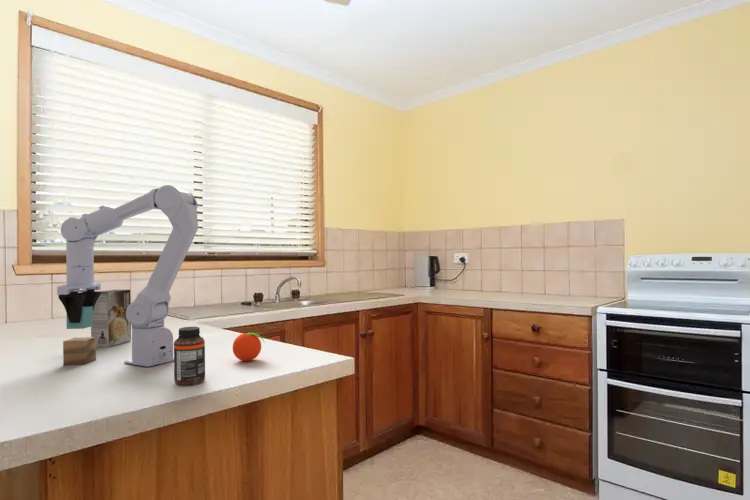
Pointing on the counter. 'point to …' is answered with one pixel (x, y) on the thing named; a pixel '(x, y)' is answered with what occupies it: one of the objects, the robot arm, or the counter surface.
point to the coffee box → (111, 318)
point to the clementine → (247, 346)
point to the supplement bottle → (189, 357)
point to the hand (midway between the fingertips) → (80, 321)
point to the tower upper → (79, 345)
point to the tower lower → (79, 358)
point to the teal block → (83, 319)
